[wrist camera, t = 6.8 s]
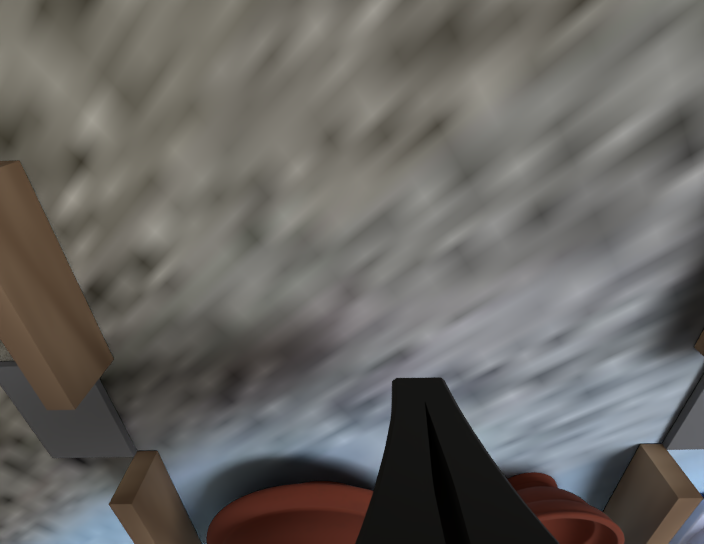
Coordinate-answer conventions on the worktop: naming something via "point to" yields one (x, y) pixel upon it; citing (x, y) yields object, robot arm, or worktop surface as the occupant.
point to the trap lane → (147, 467)
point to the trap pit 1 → (69, 420)
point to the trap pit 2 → (689, 423)
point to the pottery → (352, 503)
